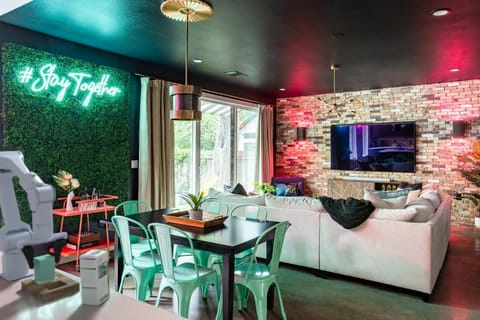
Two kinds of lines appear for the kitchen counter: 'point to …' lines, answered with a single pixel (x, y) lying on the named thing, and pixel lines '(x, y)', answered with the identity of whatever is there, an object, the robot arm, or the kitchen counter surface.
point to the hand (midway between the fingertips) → (44, 265)
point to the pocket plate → (50, 287)
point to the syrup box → (94, 277)
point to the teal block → (44, 268)
